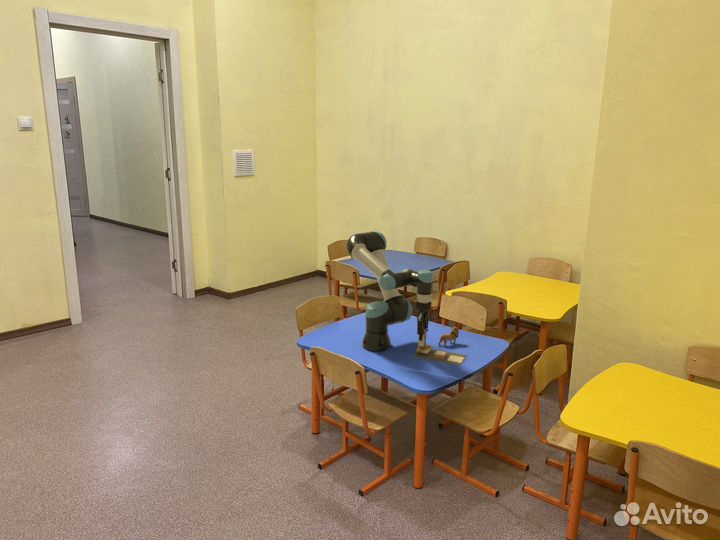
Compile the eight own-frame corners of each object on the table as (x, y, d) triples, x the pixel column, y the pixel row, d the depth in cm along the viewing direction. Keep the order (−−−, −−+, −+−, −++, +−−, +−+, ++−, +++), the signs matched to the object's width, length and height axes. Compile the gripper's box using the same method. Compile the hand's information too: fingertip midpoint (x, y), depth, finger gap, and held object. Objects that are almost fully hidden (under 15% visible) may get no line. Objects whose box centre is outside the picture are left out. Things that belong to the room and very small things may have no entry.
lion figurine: (453, 340, 293) (453, 325, 291) (460, 343, 289) (461, 327, 287) (435, 347, 284) (435, 331, 282) (443, 350, 280) (443, 334, 278)
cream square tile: (434, 357, 270) (434, 353, 269) (436, 353, 274) (437, 350, 274) (443, 358, 268) (443, 355, 267) (446, 355, 272) (446, 351, 272)
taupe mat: (412, 358, 270) (412, 357, 270) (421, 348, 282) (421, 347, 282) (461, 367, 260) (461, 365, 260) (467, 356, 272) (467, 355, 272)
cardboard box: (416, 351, 271) (417, 331, 268) (421, 345, 279) (422, 325, 276) (427, 353, 269) (428, 333, 266) (432, 347, 277) (433, 327, 274)
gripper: (426, 306, 259) (424, 351, 265) (436, 297, 273) (433, 340, 280) (411, 304, 262) (409, 348, 268) (421, 295, 276) (420, 337, 283)
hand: (422, 344), depth 274 cm, fingers closed on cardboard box, 3 cm apart
